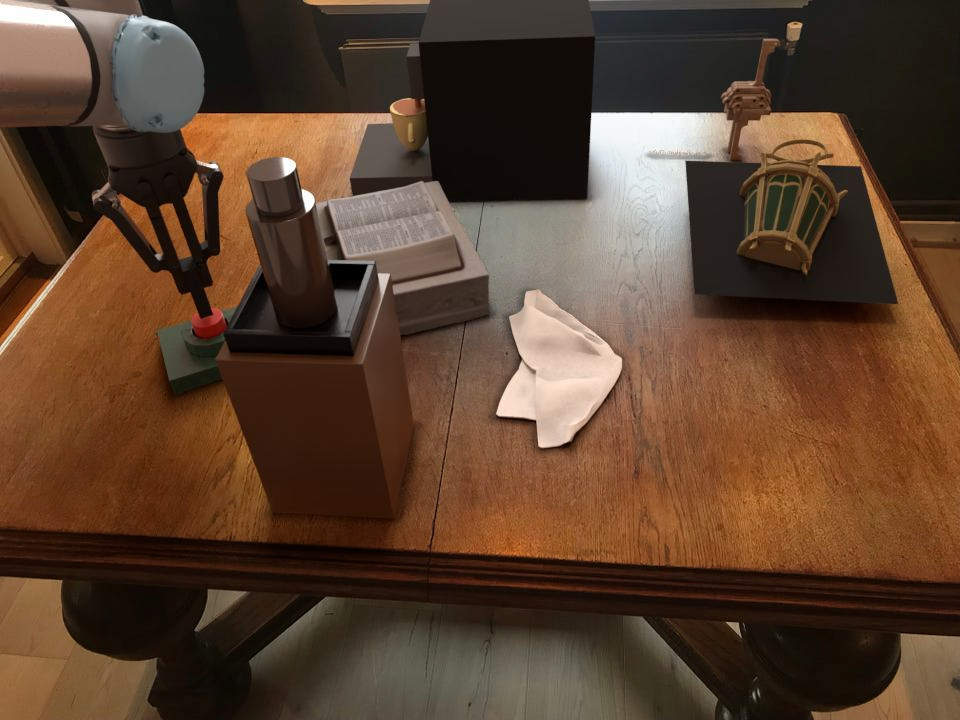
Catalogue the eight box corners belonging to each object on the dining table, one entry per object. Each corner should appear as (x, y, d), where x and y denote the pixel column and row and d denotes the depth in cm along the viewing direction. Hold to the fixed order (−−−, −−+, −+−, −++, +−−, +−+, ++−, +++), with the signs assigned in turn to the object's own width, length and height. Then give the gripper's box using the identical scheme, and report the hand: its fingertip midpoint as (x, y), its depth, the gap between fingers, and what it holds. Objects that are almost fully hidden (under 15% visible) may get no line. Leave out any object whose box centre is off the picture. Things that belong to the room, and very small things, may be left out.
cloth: (621, 454, 78) (623, 439, 76) (486, 444, 80) (485, 429, 78) (622, 297, 97) (623, 282, 95) (513, 291, 99) (512, 277, 97)
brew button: (198, 342, 89) (193, 331, 87) (192, 325, 91) (188, 313, 90) (229, 333, 90) (225, 321, 88) (223, 315, 92) (219, 304, 91)
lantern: (679, 329, 98) (674, 160, 113) (863, 348, 97) (832, 176, 113) (709, 261, 86) (698, 84, 102) (918, 282, 85) (876, 101, 101)
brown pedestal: (272, 512, 75) (207, 340, 60) (304, 421, 84) (255, 252, 69) (394, 519, 73) (358, 345, 59) (414, 426, 82) (387, 254, 67)
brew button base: (175, 394, 88) (163, 369, 85) (162, 343, 94) (151, 318, 92) (278, 361, 91) (270, 335, 88) (259, 314, 98) (251, 289, 95)
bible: (299, 354, 92) (281, 287, 85) (311, 231, 112) (297, 169, 105) (494, 333, 93) (491, 266, 86) (471, 215, 113) (468, 153, 106)
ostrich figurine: (754, 145, 124) (778, 31, 112) (761, 166, 119) (786, 48, 107) (647, 144, 126) (660, 32, 114) (650, 165, 121) (663, 49, 109)
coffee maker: (371, 148, 130) (348, 0, 114) (580, 142, 128) (586, -9, 112) (354, 203, 117) (325, 45, 101) (587, 199, 115) (595, 36, 99)
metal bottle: (284, 336, 62) (243, 193, 54) (268, 301, 66) (228, 162, 57) (345, 316, 64) (315, 175, 55) (327, 283, 67) (296, 145, 59)
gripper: (195, 85, 77) (253, 276, 93) (56, 115, 73) (142, 309, 89) (209, 113, 72) (268, 311, 88) (61, 147, 68) (151, 347, 84)
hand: (204, 310), depth 89 cm, fingers closed
